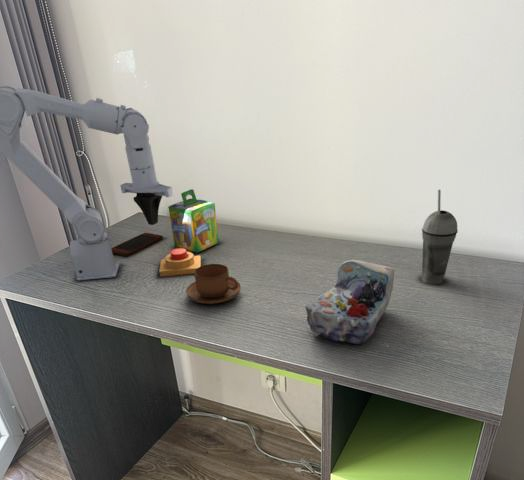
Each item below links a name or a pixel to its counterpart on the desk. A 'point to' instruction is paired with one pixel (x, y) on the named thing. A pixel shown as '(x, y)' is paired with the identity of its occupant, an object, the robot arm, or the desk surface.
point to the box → (179, 265)
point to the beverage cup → (437, 244)
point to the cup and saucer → (213, 285)
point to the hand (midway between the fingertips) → (153, 223)
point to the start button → (178, 254)
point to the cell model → (352, 302)
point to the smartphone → (136, 244)
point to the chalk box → (193, 223)
